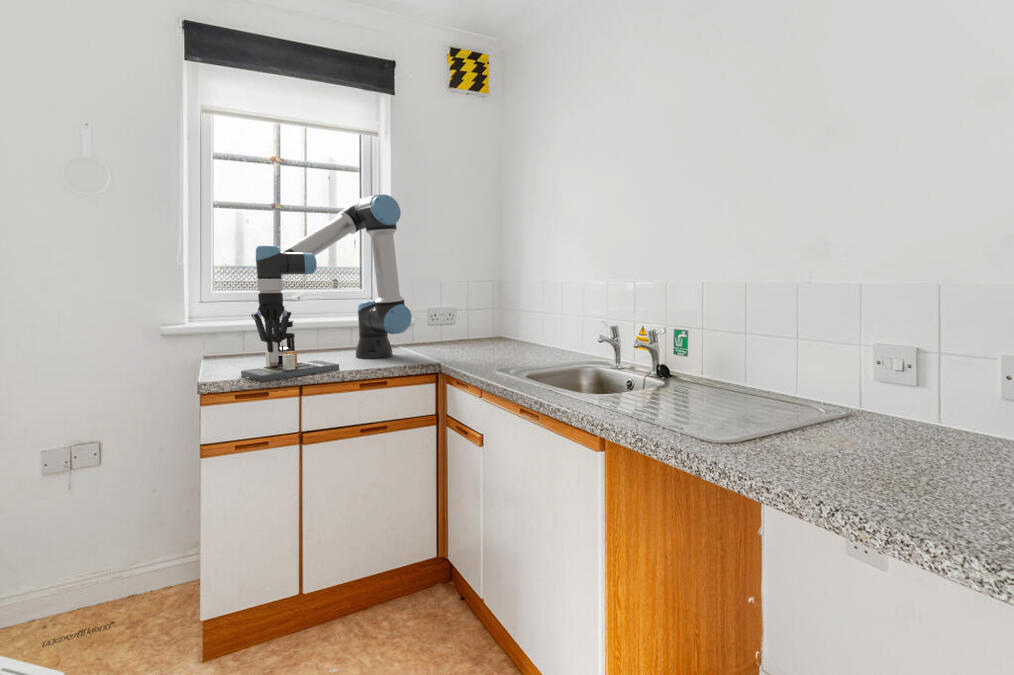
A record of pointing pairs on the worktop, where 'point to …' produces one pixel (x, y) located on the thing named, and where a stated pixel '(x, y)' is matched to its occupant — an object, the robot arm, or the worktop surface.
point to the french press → (289, 341)
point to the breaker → (295, 355)
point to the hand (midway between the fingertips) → (274, 361)
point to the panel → (289, 374)
